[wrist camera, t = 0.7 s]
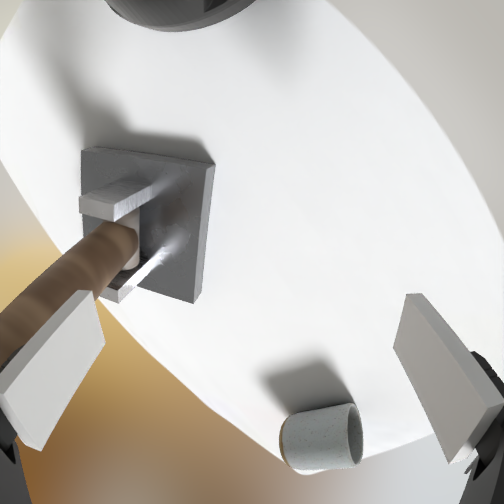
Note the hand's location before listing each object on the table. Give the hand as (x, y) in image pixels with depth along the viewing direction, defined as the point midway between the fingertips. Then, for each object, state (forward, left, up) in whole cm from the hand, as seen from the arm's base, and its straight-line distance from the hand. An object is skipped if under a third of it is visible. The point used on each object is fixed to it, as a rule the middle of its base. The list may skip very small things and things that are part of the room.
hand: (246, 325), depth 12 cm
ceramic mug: (+24, +11, -14) cm, 30 cm away
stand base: (+3, -12, -14) cm, 19 cm away
